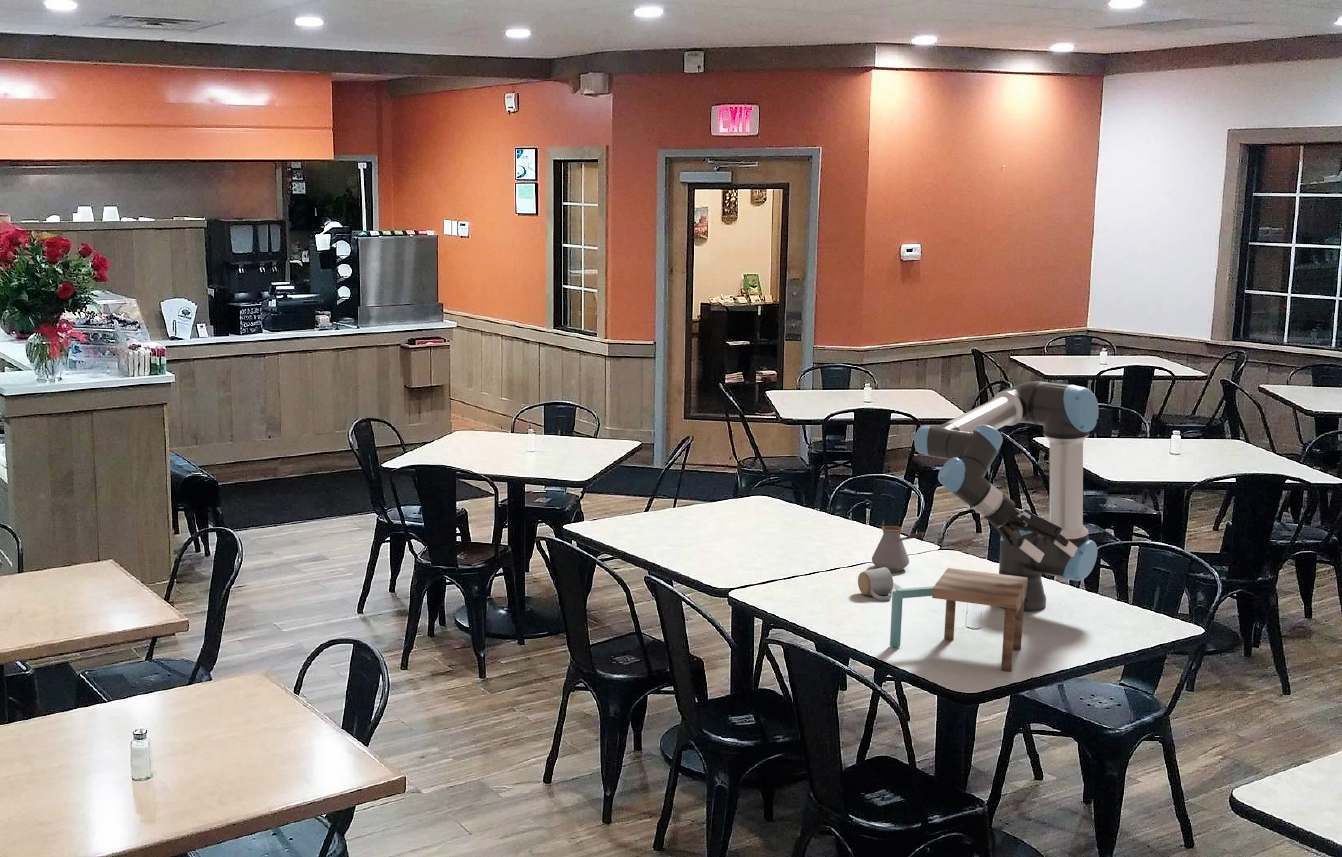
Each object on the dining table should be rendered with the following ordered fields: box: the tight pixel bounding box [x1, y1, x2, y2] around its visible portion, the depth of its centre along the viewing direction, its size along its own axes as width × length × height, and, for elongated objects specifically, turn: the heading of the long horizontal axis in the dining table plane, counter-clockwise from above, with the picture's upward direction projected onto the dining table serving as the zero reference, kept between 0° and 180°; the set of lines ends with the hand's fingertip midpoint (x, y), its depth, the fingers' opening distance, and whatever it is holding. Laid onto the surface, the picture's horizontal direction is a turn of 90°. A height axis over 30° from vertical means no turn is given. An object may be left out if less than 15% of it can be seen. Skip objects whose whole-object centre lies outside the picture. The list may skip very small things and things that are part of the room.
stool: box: [931, 567, 1028, 673], centre depth 323 cm, size 20×20×18 cm
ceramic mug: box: [857, 567, 894, 602], centre depth 371 cm, size 11×8×8 cm
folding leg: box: [889, 585, 935, 648], centre depth 329 cm, size 16×3×15 cm, turn 108°
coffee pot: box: [871, 525, 929, 573], centre depth 395 cm, size 21×12×15 cm, turn 30°
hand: (1057, 555), depth 321 cm, fingers open, 13 cm apart
